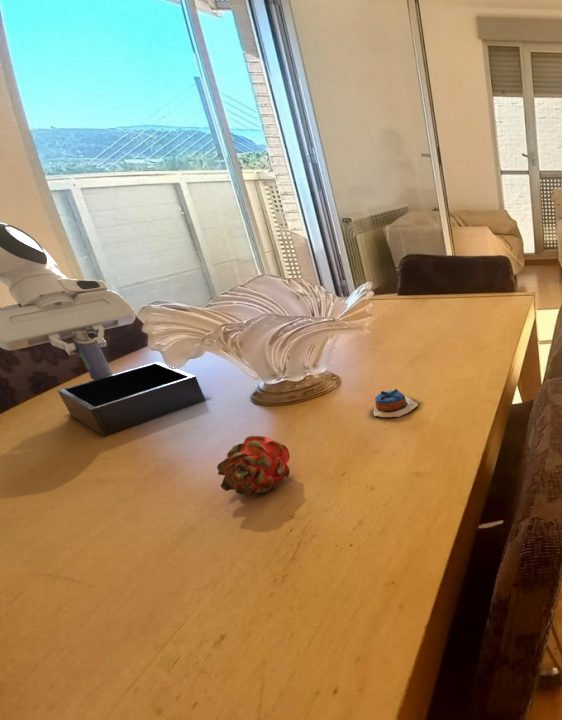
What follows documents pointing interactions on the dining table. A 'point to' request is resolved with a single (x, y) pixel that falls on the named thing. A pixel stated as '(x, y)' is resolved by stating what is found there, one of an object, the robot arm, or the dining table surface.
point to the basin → (131, 397)
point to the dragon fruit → (254, 465)
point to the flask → (91, 355)
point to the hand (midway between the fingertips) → (88, 349)
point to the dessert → (392, 404)
